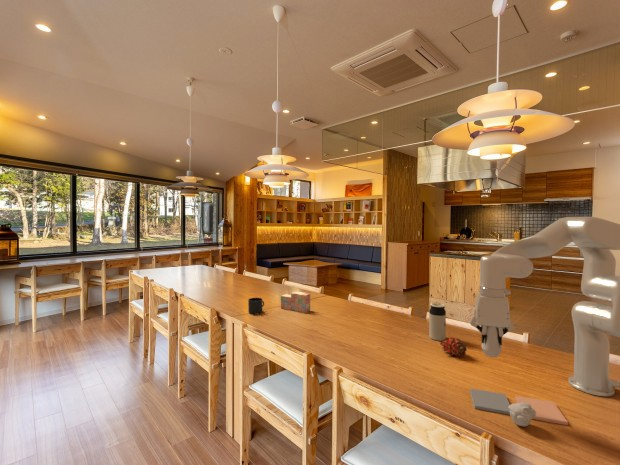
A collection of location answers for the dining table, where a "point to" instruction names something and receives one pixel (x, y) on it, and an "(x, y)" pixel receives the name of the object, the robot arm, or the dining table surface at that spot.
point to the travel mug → (437, 322)
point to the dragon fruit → (454, 346)
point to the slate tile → (490, 401)
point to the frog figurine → (522, 413)
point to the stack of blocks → (296, 302)
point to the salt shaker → (491, 342)
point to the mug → (255, 305)
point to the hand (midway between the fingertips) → (491, 345)
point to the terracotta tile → (544, 410)
